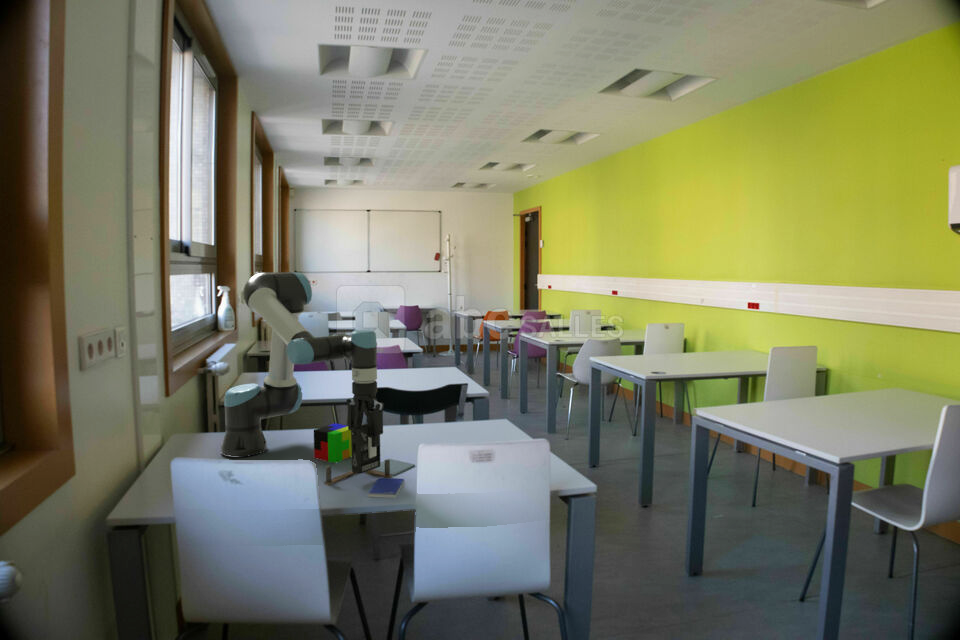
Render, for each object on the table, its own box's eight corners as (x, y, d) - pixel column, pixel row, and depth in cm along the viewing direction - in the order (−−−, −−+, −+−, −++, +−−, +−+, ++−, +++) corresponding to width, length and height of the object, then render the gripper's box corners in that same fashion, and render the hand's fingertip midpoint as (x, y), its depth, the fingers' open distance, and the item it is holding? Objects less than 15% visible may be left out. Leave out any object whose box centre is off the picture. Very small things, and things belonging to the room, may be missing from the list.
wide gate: (324, 484, 175) (324, 466, 175) (361, 468, 189) (361, 452, 188) (329, 485, 174) (328, 468, 174) (366, 469, 188) (366, 453, 187)
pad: (367, 469, 188) (367, 468, 187) (389, 460, 197) (389, 458, 197) (393, 476, 182) (393, 474, 182) (415, 465, 191) (415, 464, 191)
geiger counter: (373, 462, 184) (373, 416, 183) (383, 465, 182) (382, 418, 180) (347, 471, 176) (346, 423, 175) (357, 474, 173) (356, 425, 172)
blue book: (395, 493, 165) (404, 478, 177) (367, 493, 165) (377, 477, 178) (395, 499, 165) (404, 483, 177) (367, 498, 166) (378, 482, 178)
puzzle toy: (335, 450, 207) (334, 423, 207) (356, 455, 202) (355, 427, 201) (314, 458, 199) (313, 430, 198) (335, 463, 194) (334, 434, 193)
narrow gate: (387, 478, 180) (386, 461, 179) (362, 472, 185) (362, 455, 185) (391, 476, 182) (391, 459, 181) (367, 470, 187) (366, 454, 186)
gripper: (334, 379, 178) (336, 453, 180) (378, 386, 169) (379, 463, 171) (352, 375, 184) (353, 447, 186) (395, 382, 175) (396, 456, 177)
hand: (365, 454), depth 179 cm, fingers closed on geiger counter, 5 cm apart
